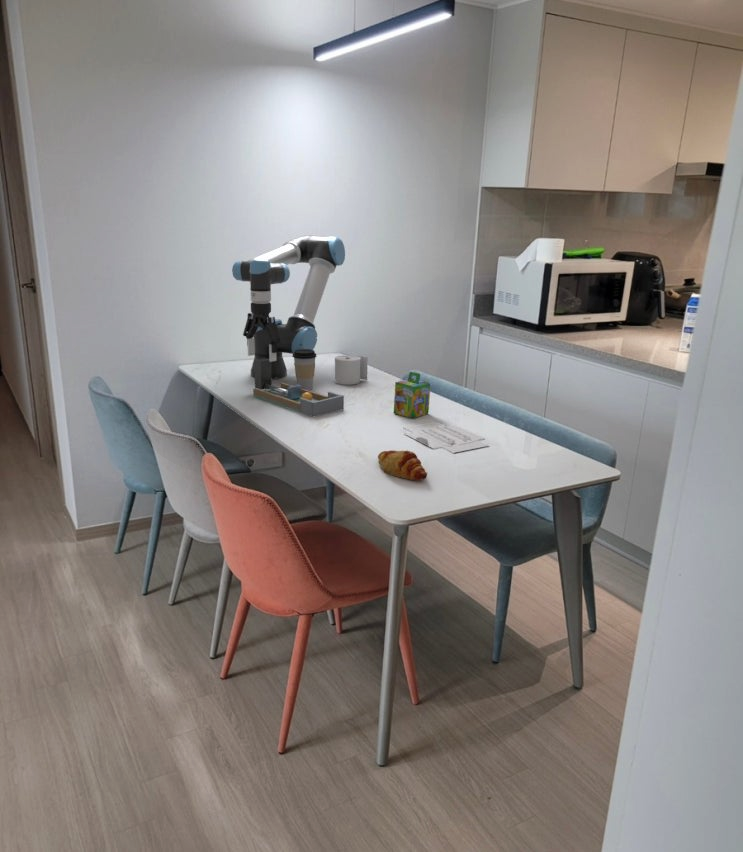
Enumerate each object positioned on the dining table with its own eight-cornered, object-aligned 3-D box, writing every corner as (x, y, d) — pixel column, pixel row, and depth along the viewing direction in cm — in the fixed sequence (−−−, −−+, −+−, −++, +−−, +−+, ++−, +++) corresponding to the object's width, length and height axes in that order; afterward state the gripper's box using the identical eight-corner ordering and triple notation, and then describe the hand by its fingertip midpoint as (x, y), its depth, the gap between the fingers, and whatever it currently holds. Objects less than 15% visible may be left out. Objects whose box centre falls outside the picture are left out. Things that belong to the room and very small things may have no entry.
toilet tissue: (329, 381, 293) (329, 357, 290) (351, 376, 300) (351, 353, 297) (346, 386, 285) (346, 361, 282) (368, 381, 293) (368, 357, 290)
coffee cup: (318, 386, 285) (318, 349, 280) (314, 392, 276) (314, 354, 271) (295, 384, 285) (294, 348, 281) (290, 391, 277) (289, 353, 272)
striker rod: (265, 385, 278) (264, 358, 274) (301, 397, 263) (301, 368, 260) (254, 388, 274) (254, 359, 271) (291, 399, 260) (290, 370, 256)
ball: (307, 400, 260) (307, 390, 259) (314, 403, 257) (314, 392, 256) (299, 402, 257) (299, 392, 256) (306, 405, 255) (306, 394, 254)
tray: (443, 422, 244) (444, 412, 243) (497, 449, 222) (498, 438, 221) (393, 431, 234) (394, 420, 233) (444, 461, 212) (445, 449, 210)
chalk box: (392, 413, 251) (394, 372, 246) (409, 408, 257) (411, 368, 252) (413, 419, 245) (414, 377, 240) (429, 414, 251) (431, 373, 246)
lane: (282, 389, 278) (282, 381, 277) (330, 405, 259) (330, 395, 258) (253, 396, 268) (252, 387, 267) (301, 412, 250) (300, 402, 249)
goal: (329, 404, 260) (329, 391, 258) (343, 409, 255) (343, 395, 253) (300, 412, 250) (299, 398, 248) (314, 416, 245) (313, 402, 243)
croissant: (371, 473, 206) (360, 453, 201) (395, 452, 209) (385, 431, 205) (417, 496, 189) (407, 474, 185) (443, 473, 193) (433, 451, 189)
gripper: (232, 299, 270) (234, 354, 276) (273, 306, 253) (274, 364, 260) (249, 297, 275) (250, 351, 282) (289, 305, 259) (290, 362, 265)
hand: (261, 358), depth 271 cm, fingers open, 13 cm apart
